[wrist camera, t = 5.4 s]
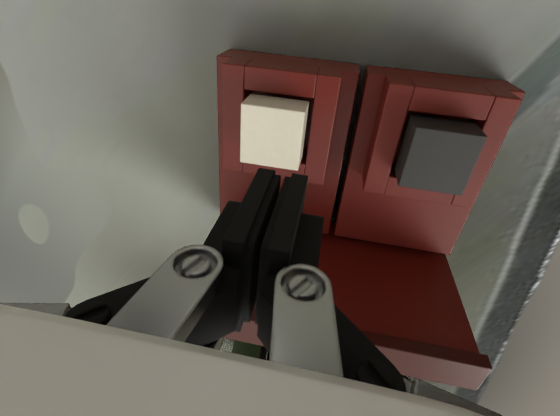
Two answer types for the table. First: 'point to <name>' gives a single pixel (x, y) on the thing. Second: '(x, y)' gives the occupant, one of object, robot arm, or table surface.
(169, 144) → the table surface
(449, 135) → the ebony key
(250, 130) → the ivory key
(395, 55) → the table surface
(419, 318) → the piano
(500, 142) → the red grey-inset block
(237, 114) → the red white-inset block
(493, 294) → the table surface
